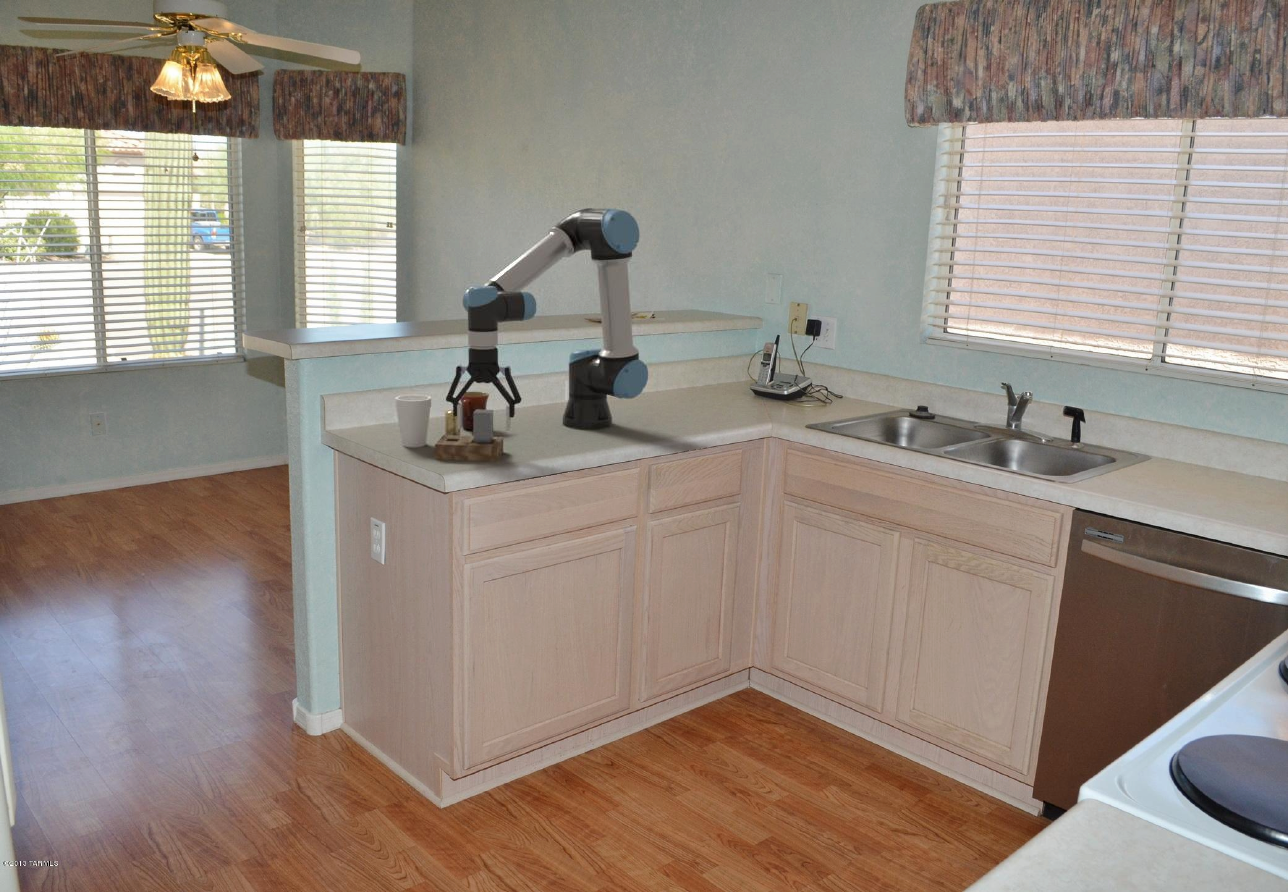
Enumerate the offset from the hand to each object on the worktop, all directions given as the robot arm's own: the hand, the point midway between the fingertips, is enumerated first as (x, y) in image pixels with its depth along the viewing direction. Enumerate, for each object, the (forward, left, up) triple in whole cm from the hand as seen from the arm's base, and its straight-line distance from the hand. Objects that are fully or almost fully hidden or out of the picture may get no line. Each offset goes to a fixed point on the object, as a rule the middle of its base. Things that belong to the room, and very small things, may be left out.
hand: (484, 429), depth 271 cm
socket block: (+4, 0, -7) cm, 8 cm away
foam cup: (+21, -10, -7) cm, 24 cm away
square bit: (0, 0, -7) cm, 7 cm away
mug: (+9, -32, -7) cm, 34 cm away
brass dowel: (+11, -13, -7) cm, 18 cm away
